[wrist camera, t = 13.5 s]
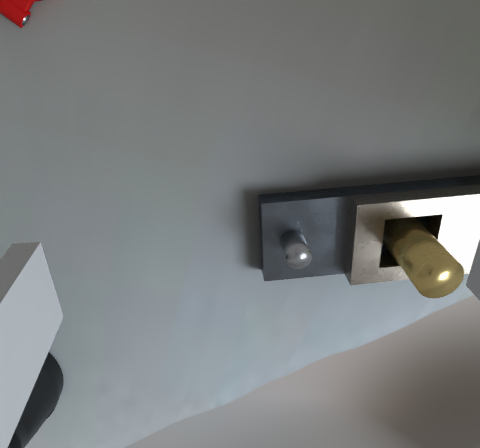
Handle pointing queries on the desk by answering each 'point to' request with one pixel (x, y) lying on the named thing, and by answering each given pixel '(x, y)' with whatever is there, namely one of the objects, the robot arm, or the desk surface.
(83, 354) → the desk surface
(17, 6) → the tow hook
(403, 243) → the brass pin
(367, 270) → the door bolt
